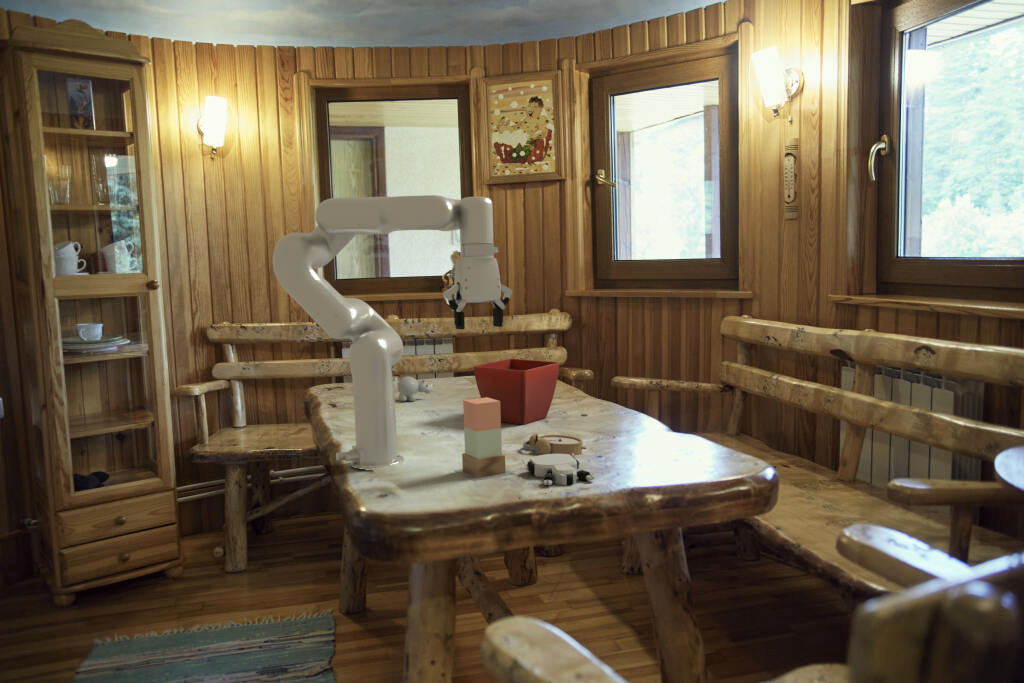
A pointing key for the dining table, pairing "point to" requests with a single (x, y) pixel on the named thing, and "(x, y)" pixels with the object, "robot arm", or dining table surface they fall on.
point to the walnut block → (483, 465)
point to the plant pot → (518, 387)
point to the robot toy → (557, 469)
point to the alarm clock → (554, 444)
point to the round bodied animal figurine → (411, 388)
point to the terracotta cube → (482, 414)
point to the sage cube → (483, 443)
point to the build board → (481, 477)
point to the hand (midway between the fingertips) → (479, 327)
